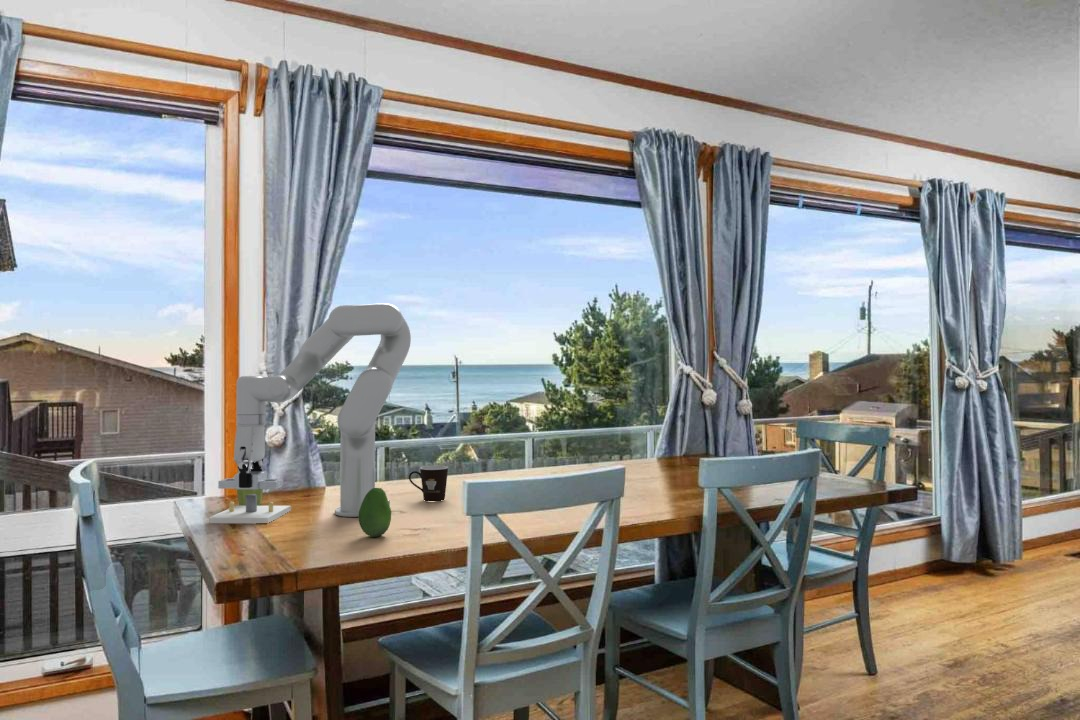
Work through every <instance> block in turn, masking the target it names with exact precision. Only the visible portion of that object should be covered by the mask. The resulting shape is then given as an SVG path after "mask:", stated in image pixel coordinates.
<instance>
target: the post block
mask: <svg viewBox="0 0 1080 720" xmlns="http://www.w3.org/2000/svg"><path fill="white" fill-rule="evenodd" d="M228 504H229V507H228V508H227V509H225V510H223V511H221V512H218V513H216V514H214V515H211V516H209V517H208V524H256V523H268V524H270V523H272V522H273V520H274V521H275V520H277V519H279V518H281V517H282V515H283V516H284V515H286V514H288V513H290V512H291V511H292V510H291V509H292V506H291V505H274V502H273V501H271V502H268V505H259V506H257V495H256V494H249V495H246V506H244V505H239V504H238V505H235V502H234V501H230V502H229V503H228ZM289 511H290V512H289ZM287 512H288V513H287ZM285 513H286V514H285ZM280 516H281V517H280ZM271 521H272V522H271ZM269 522H270V523H269Z"/></svg>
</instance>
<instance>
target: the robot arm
mask: <svg viewBox="0 0 1080 720" xmlns="http://www.w3.org/2000/svg"><path fill="white" fill-rule="evenodd" d="M374 335H375V336H377V335H380V341H379V344H378V346H377V347H376V350H375V351H374V353H373V355H372V358H371V359H370V361H369V363H368V365H367V367H366V368H365V370H363V371H361V373H360V374H359V375H358V377H357V379H356V380H355V381H354V383H353V386H352V388H351V390H350V391H349V393H348V395H347V397H346V399H345V401H344V403H343V404H342V405H341V406H342V407H341V409H340V410H339V412H338V415H337V419H336V421H337V426H338V429H339V431H340V442H339V443H340V447H339V449H340V450H339V451H340V453H339V454H340V458H339V459H340V460H339V462H340V463H339V464H340V466H339V469H340V470H339V471H340V477H339V481H340V483H339V484H340V485H339V486H340V487H339V489H340V496H339V497H340V499H339V501H340V504H339V505H340V506H338V507H336V508H335V509H334V515H336V516H339V517H345V518H348V517H349V518H356V517H358V518H359V510H360V507H361V504H362V502H363V500H364V498H365V496H366V494H367V493H368V492H369V491H370V490H371V489H373V488H376V482H375V481H376V468H375V467H376V465H375V464H376V420H377V418H378V416H379V414H380V413H381V410H382V409H383V407H384V405H385V404H386V402H387V399H388V397H389V396H390V394H391V392H392V389H393V385H394V383H395V381H396V378H397V376H398V375H399V373H400V371H401V369H402V366H403V364H404V362H405V360H406V357H407V355H408V353H409V350H410V348H411V341H412V340H411V339H412V338H411V337H412V335H411V330H410V326H409V325H408V323H407V321H406V319H405V317H404V316H403V314H402V311H401V310H400V309H399V308H398V307H397V306H396V305H394V304H391V303H371V304H349V305H347V304H346V305H345V304H343V305H339V306H336V307H335V308H333V309H331V312H330V313H329V314H328V318H327V319H326V320H325V321H324V322H323V323H322V324H321V326H319V327H318V328H317V329H316V330H315V331H314V333H312V334H311V335H310V336H309V337H308V338H307V339H306V340H305V341H304V342H303V344H302V345H301V347H300V350H299V352H298V353H297V355H296V356H295V357H294V358H293V360H292V361H291V362H290V363H289V364H288V365H287V366H286V367H285V368H284V369H283V370H282V371H281V372H280V373H279V374H278V375H271V376H260V375H242V376H239V377H238V378H237V379H236V406H235V407H236V411H235V413H236V414H235V415H236V423H235V424H236V425H235V426H236V430H235V436H234V449H233V452H234V453H233V462H234V463H236V465H237V470H238V471H237V473H239V488H250V487H251V473H250V471H263V469H264V465H263V463H264V459H265V456H266V437H265V436H266V433H265V426H266V425H267V424H266V422H267V421H266V420H267V419H266V412H267V411H266V409H267V408H266V407H267V406H266V404H267V403H266V402H269V403H277V404H279V403H284V402H286V401H290V400H291V399H293V398H294V397H295V396H296V395H297V394H298V393H299V392H301V390H303V388H304V387H305V386H306V385H307V384H308V383H309V382H310V381H311V380H312V379H313V378H314V377H315V376H316V375H317V374H318V373H319V372H320V371H321V370H322V369H324V368H325V367H326V366H327V364H328V363H329V362H331V360H332V359H333V358H334V357H335V356H336V355H337V354H338V352H340V351H341V350H342V349H343V348H344V347H345V346H346V345H347V344H349V342H350V341H351V340H352V339H353V338H354V337H355V336H374ZM390 501H391V500H389V499H388V502H389V506H390V505H391V502H390ZM390 507H391V506H390Z"/></svg>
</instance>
